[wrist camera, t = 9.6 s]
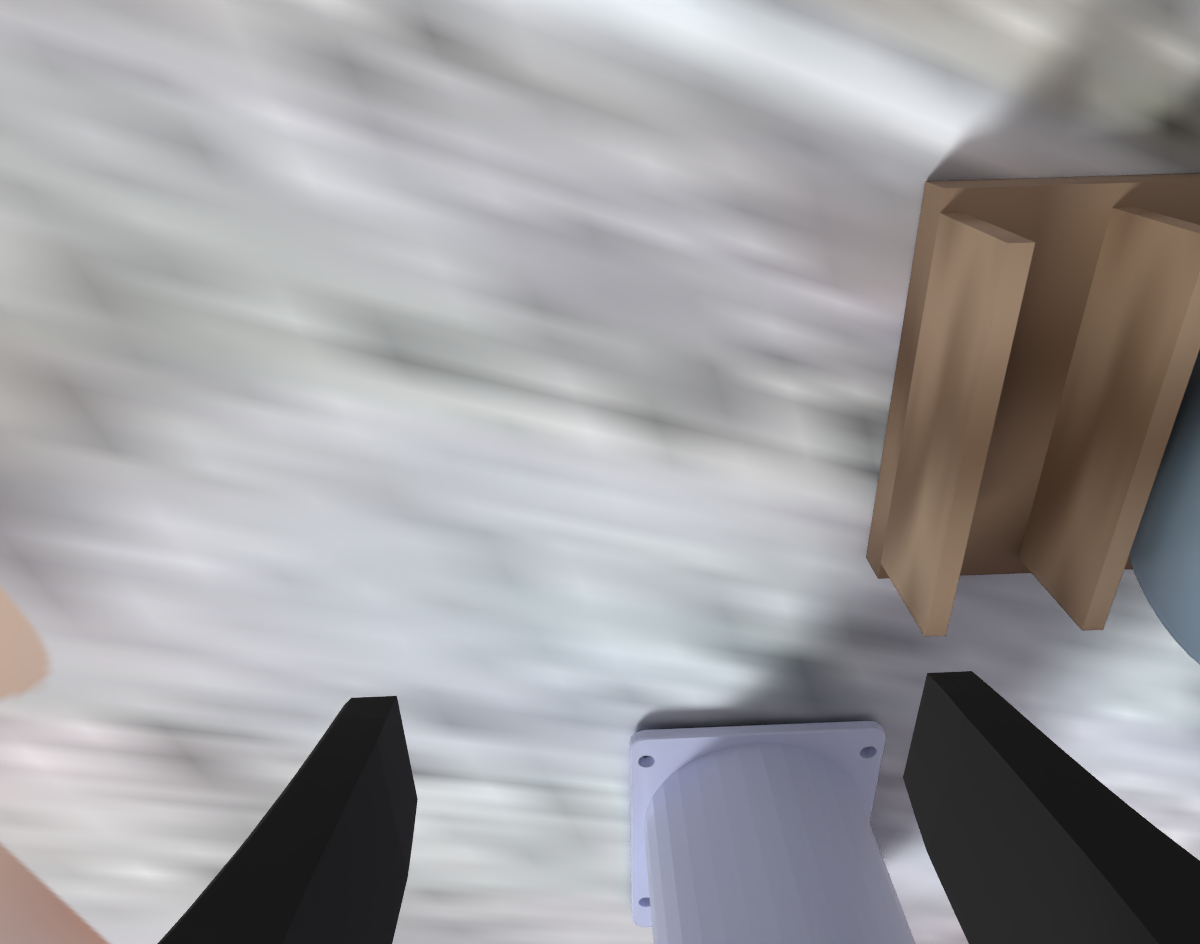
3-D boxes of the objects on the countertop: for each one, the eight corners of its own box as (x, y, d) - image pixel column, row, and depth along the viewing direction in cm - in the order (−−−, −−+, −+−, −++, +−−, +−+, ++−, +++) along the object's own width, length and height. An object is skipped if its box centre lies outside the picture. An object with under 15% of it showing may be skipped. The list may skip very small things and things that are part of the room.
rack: (1275, 542, 22) (1405, 634, 19) (865, 557, 22) (920, 653, 19) (1441, 165, 18) (1656, 194, 14) (925, 181, 18) (1013, 214, 14)
